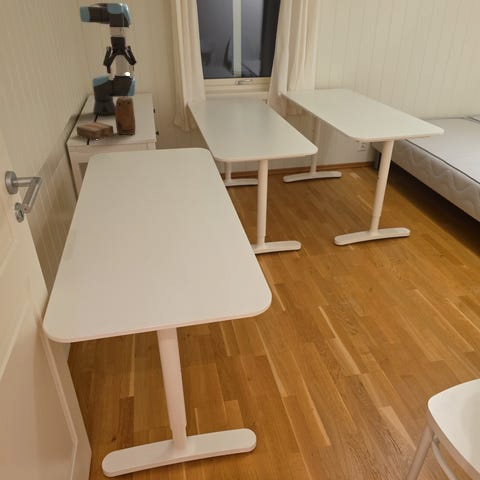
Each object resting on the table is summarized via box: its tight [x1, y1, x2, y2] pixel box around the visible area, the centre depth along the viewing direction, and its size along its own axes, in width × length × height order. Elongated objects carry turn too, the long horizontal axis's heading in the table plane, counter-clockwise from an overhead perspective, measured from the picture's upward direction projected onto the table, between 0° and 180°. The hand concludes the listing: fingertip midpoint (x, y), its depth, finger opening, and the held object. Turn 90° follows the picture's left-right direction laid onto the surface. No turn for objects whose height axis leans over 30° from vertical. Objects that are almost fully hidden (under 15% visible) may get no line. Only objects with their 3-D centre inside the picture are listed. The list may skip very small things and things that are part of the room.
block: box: [114, 97, 136, 135], centre depth 255 cm, size 11×8×20 cm
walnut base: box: [75, 121, 115, 141], centre depth 253 cm, size 14×14×5 cm
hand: (121, 78), depth 245 cm, fingers open, 13 cm apart
